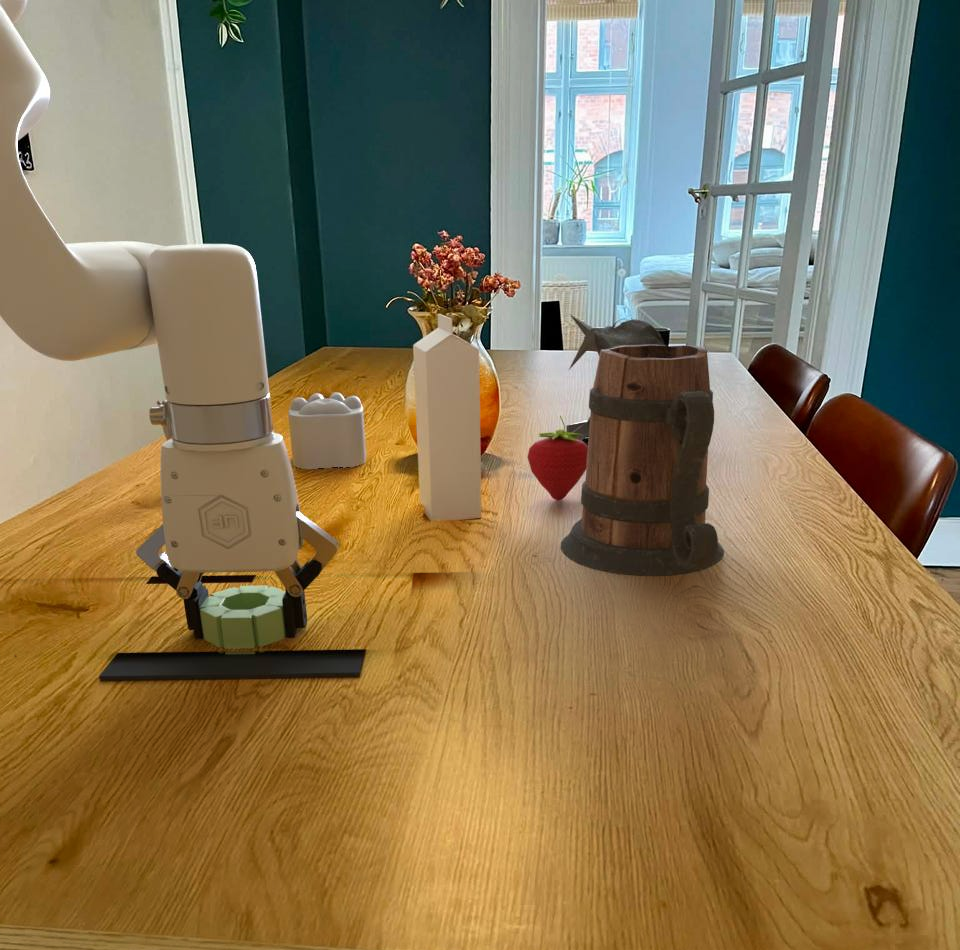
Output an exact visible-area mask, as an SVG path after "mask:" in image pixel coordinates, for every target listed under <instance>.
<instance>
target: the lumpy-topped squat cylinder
mask: <svg viewBox="0 0 960 950" xmlns="http://www.w3.org/2000/svg"><path fill="white" fill-rule="evenodd" d="M287 416H288V417H287V418H288V427H289V438H290V447H291V459H292V465H293V467H294V468H296V467H297V469H300V468H301V469H300V470H319V469H318V468H324V469H333V468H332V467H338V468H337V469H340V468H339V467H343V468H342V469H347V468H346V467H350V468H355V466H356V467H360V466H362V465H364V464H365V463H366V461H367V448H366V433H365V415H364V407H363V405H362V402H361V399H360V398H359V397H358V396H356V395H349V396H348V397H346V398H345V397H344V396H343V395H342V393H340V392H336V391H335V392H332V393H331V394H330V395H329V397H327V398H326V397H324V395H323V394H321V393H318V392H315V393H313V394H312V395H310V396H309V398H308V400H306V399H305V398H303V397H295V398H293V399H292V400H291V402H290V404H289V409H288V412H287ZM359 465H360V466H359Z"/></svg>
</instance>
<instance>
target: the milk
mask: <svg viewBox="0 0 960 950" xmlns="http://www.w3.org/2000/svg"><path fill="white" fill-rule="evenodd" d="M453 331H454V330H453V319H452V318H451V317H449V316H446V315H443V314H441V313H437V328H435V329H433V330H432V331H431V332H430V333H429V334H427V335H425V336H424V337H422V338H421V339H420V340H418V341H417V342H415V343H414V344H413V345H412V350H413V352H412V353H413V374H414V375H413V376H414V377H413V378H414V397H415V398H414V399H415V419H416V421H415V423H416V440H417V441H416V445H417V468H418V470H417V471H418V490H419V494H418V495H419V504H421V505H422V506H423V514H424V515H425V516H426V517H427V519H428V520H429V521H430V522H433V521H434V522H435V521H439V522H441V521H443V522H444V521H465V520H472V519H473V520H474V519H482V513H483V512H482V453H481V445H482V443H481V386H480V385H481V384H480V383H481V382H480V380H481V378H480V348H479V347H477V346H475V345H473V344H471V343H469V342H468V341H466V340H465V339H462V338H461V337H459V336H457V335H456V334H454V333H453Z"/></svg>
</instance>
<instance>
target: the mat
mask: <svg viewBox="0 0 960 950" xmlns="http://www.w3.org/2000/svg"><path fill="white" fill-rule="evenodd" d="M217 651H218V650H217ZM217 651H216V650H215V651H214V650H211V651H210V650H209V651H151V652H150V651H149V652H148V651H145V652H144V651H143V652H139V651H138V652H117V653H116V654H115V655H114V657H112V658H111V660H110V661H109V663H108V664H107V665H106V667H105V668H104V669H103V670H102V672H101V673H100V674H99V675H98V678H99V682H101V681H103V682H104V681H165V680H166V681H167V680H168V681H169V680H170V681H171V680H172V681H173V680H176V681H177V680H232V679H233V680H238V679H241V680H242V679H243V680H244V679H301V678H302V679H307V678H309V679H311V678H318V679H319V678H360V677H361V674H362V668H363V664H364V661H365V657H366V653H367V649H366V648H357V649H355V648H354V649H351V648H350V649H289V650H287V649H286V650H285V649H284V650H279V649H278V650H264V651H265V652H262V653H260V652H258V651H259V650H255V651H256V653H255V654H232V655H226V654H225V652H224V653H221V654H220V653H218V652H217Z"/></svg>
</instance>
